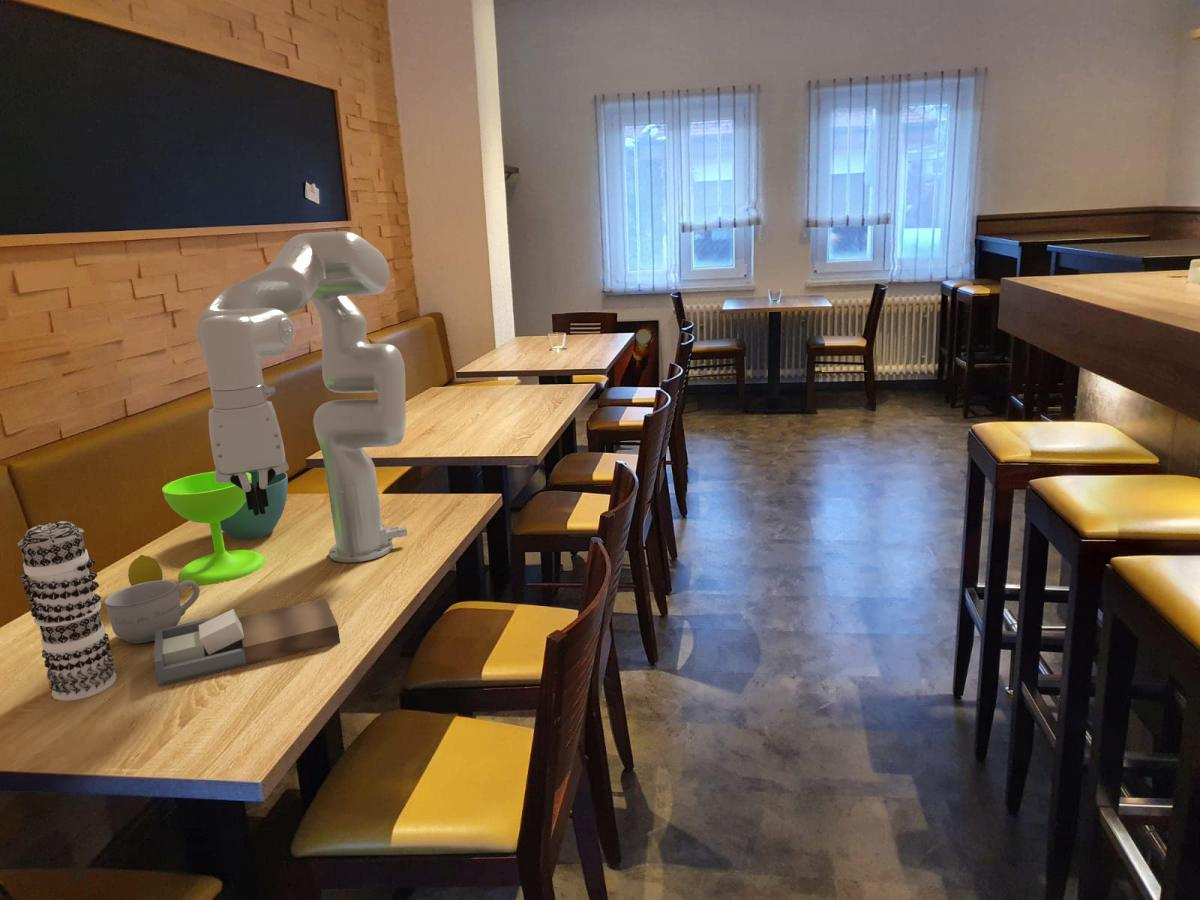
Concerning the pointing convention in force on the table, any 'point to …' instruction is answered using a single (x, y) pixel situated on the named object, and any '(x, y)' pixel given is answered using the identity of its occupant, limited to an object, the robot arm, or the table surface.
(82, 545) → the decorative candle
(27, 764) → the table surface
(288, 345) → the robot arm
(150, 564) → the lemon
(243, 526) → the plant pot
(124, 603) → the teacup
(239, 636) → the white tile
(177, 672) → the box
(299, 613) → the walnut wavy ramp
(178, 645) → the sage tile
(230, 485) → the wineglass
